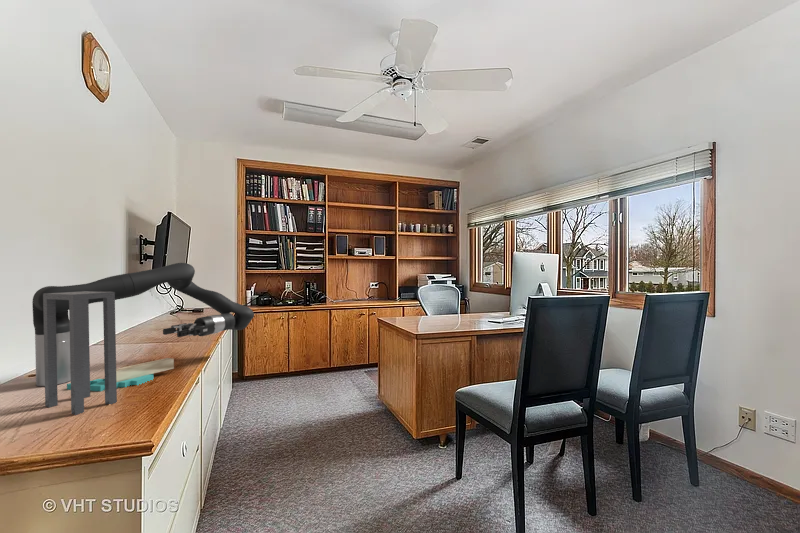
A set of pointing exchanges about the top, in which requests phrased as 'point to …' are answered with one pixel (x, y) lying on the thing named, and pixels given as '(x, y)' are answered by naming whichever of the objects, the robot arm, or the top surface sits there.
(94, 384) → the alien figure
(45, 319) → the stand
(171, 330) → the robot arm
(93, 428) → the top surface
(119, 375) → the block
